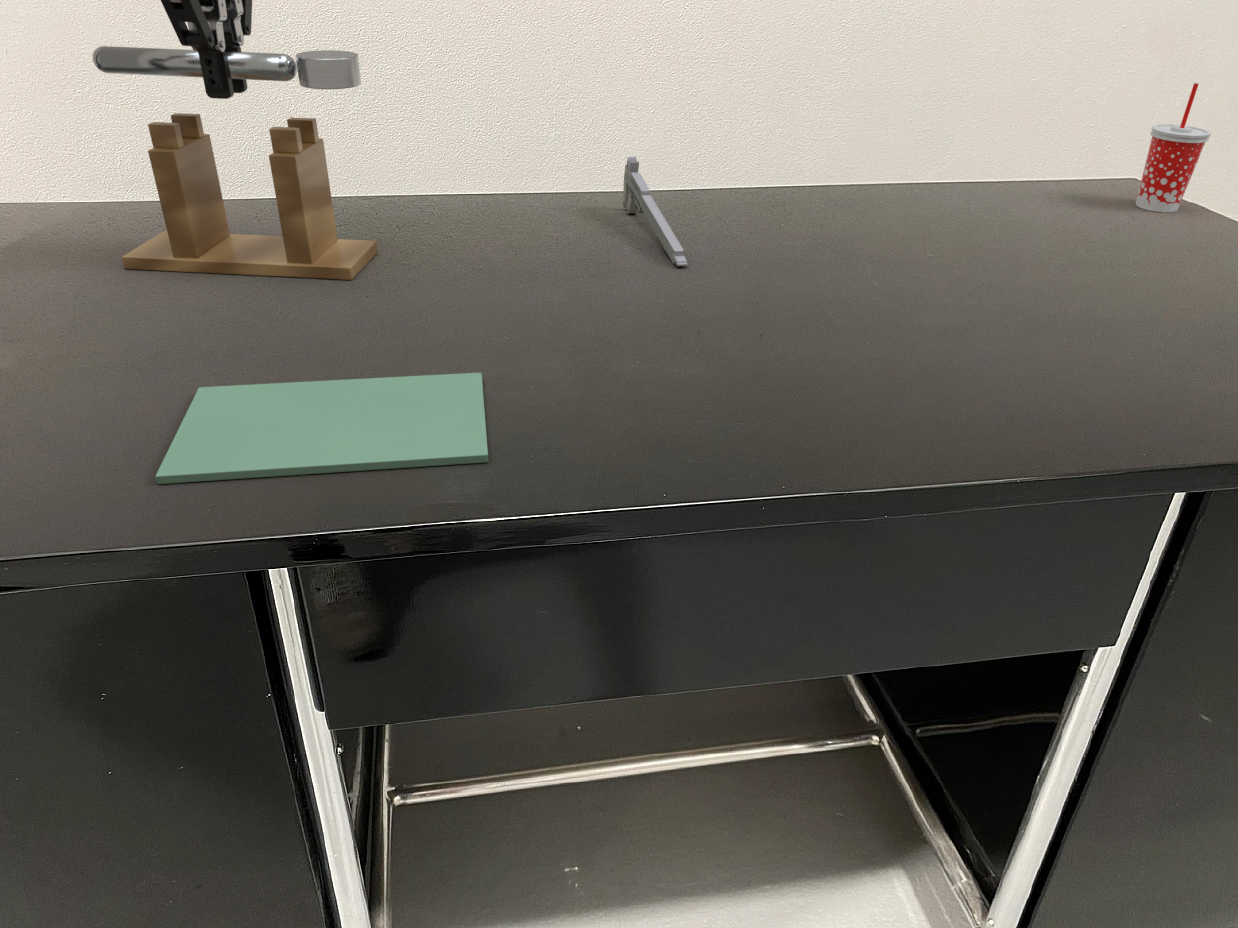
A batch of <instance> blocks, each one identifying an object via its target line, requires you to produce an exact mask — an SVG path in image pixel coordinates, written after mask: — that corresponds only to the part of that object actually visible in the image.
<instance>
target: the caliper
mask: <svg viewBox="0 0 1238 928" xmlns="http://www.w3.org/2000/svg"><path fill="white" fill-rule="evenodd" d="M626 162H627V163H626V164H624V175H623V189H622V191H623V193H622V196H623V197H622V206H623V209H627V210H626V214H627V215H636V214H637V213H639V214H643V215H644V216H645V218H646V220H647V221H648V223H649V225H650V226H651V228H652V230H653V232H654V233H655V235H656V237H657V239H658V241H659V242H660V244H661V246H662V247H663V249H664V251H665V253H666V254H667V257H668V258H669V260H670V262H671V263H672V265H676V266H677V267H683V266H688V261H687V259H686V257H685V249H684V248H683V246H682V245H681V243H680V242H679V240H678V238H677V236H676V235H675V233H674V231H673V229H672V228H671V226H670V225H669V223H668V221H667V220H666V218H665V216H664V215H663V213H662V211H661V210H660V208H659V206H658V205H657V203H656V202H655V200H654V198H653V197H652V195H651V189H650V188H649V186H648V183H646V181H645V179H644V178H643V176H642V174H641V173H640V172H639V168H640V161H637V156H627V159H626Z"/></svg>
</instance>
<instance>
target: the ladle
mask: <svg viewBox="0 0 1238 928" xmlns="http://www.w3.org/2000/svg"><path fill="white" fill-rule="evenodd" d="M224 52H227V56H228V62H229V69H230V73H231V79H246V81H248V80H251V81H271V82H290V81H292V80H293V79H294V78H296V76H297V77H298V82H299V83H298V84H299V85H300V86H301V87H302V88H306V89H311V90H312V89H313V90H343V89H344V90H345V89H351V88H352V89H353V88H356V87H359V86H360V85H362V77H361V69H360V68H361V67H360V60H359V59H360V58H359V54H358V53H357V52H353V51H349V50H348V51H347V50H333V49H332V50H331V49H329V50H326V49H325V50H323V49H322V50H307V51H302V52H298V53H296V54H295V59H294V58H293V56H290V55H289V54H286V53H276V52H275V53H274V52H251V51H250V52H249V51H241V52H230V51H224ZM91 57H92V62H93V64H94V66H95V67H96V68H97V70H99V71H101V72H102V73H105V74H111V75H113V74H114V75H137V76H138V75H139V76H160V77H180V78H181V77H183V78H202V79H203V75H202V70H201V64H200V59H199V54H198V51H194V50H193V49H182V48H179V49H178V48H156V47H134V46H133V47H132V46H113V45H112V46H110V45H102V46H99V47H97V48H95V49H94V50H93V53H92V56H91Z"/></svg>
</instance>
